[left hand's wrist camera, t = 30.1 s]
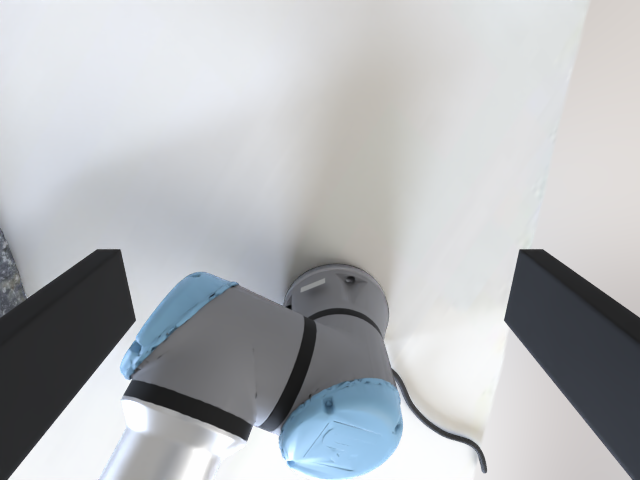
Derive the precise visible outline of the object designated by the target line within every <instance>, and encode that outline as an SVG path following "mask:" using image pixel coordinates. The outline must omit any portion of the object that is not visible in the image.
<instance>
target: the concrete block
mask: <svg viewBox="0 0 640 480" xmlns="http://www.w3.org/2000/svg"><path fill="white" fill-rule="evenodd" d="M25 300H26V297H25V293H24V290H23V287H22V284H21V280H20V276H19V273H18V270H17V268H16V265H15V262H14V260H13V257H12V254H11V251H10V249H9V246H8V243H7V242H6V240H5V238H4V235H3V232H2V230H1V229H0V318H1V317H2V316H3V315H5V314H6V313H8V312H9V311H10V310H12V309H13V308H15V307H16V306H18V305H19V304H20V303H22V302H23V301H25Z"/></svg>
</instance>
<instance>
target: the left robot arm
mask: <svg viewBox="0 0 640 480" xmlns="http://www.w3.org/2000/svg"><path fill="white" fill-rule="evenodd" d="M135 321H136V319H135V314H134V309H133V305H132V300H131V296H130V291H129V286H128V282H127V277H126V273H125V268H124V263H123V259H122V254H121V250H120V249H97V250H96V251H94V252H93V253H91V254H90V255H88V256H87V257H86V258H84V259H83V260H81V261H80V262H79V263H77V264H76V265H74V266H73V267H71V268H70V269H69V270H67V271H66V272H64V273H63V274H62V275H60V276H59V277H57V278H56V279H54V280H53V281H52V282H50V283H49V284H47V285H46V286H45V287H43V288H42V289H40V290H39V291H37V292H36V293H35V294H33V295H32V296H30V297H29V298H28V299H26V300H25V301H23V302H22V303H20V304H19V305H18V306H16V307H15V308H13V309H12V310H10V311H9V312H8V313H6V314H5V315H3V316H2V317H1V318H0V480H8V478H9V477H10V476H11V475H12V474H13V472H14V471H15V470H16V469H17V467H18V466H19V465H20V464H21V462H22V461H23V460H24V459H25V457H26V456H27V455H28V454H29V452H30V451H31V450H32V449H33V447H34V446H35V445H36V444H37V443H38V441H39V440H40V439H41V438H42V436H43V435H44V434H45V433H46V431H47V430H48V429H49V428H50V426H51V425H52V424H53V423H54V421H55V420H56V419H57V418H58V416H59V415H60V414H61V413H62V412H63V410H64V409H65V408H66V407H67V405H68V404H69V403H70V402H71V400H72V399H73V398H74V397H75V395H76V394H77V393H78V392H79V390H80V389H81V388H82V387H83V385H84V384H85V383H86V382H87V381H88V379H89V378H90V377H91V376H92V374H93V373H94V372H95V371H96V369H97V368H98V367H99V366H100V364H101V363H102V362H103V361H104V359H105V358H106V357H107V356H108V354H109V353H110V352H111V351H112V350H113V348H114V347H115V346H116V345H117V343H118V342H119V341H120V340H121V338H122V337H123V336H124V335H125V333H126V332H127V331H128V330H129V328H130V327H131V326H132V325H133V323H134V322H135ZM388 321H389V308H388V304H387V300H386V297H385V294H384V292H383V290H382V288H381V286H380V285H379V284H378V282H377V281H376V280H375V279H374V278H373V277H372V276H370V275H369V274H368V273H366V272H365V271H363V270H361V269H358V268H356V267H353V266H349V265H343V264H329V265H323V266H319V267H316V268H313V269H311V270H309V271H307V272H305V273H304V274H302V275H301V276H300V277H299V278H297V279H296V280H295V282H294V283H293V284H292V285H291V287H290V288H289V290H288V292H287V294H286V297H285V300H284V305H283V306H282V305H279V304H277V303H275V302H273V301H271V300H269V299H267V298H264V297H262V296H260V295H258V294H256V293H254V292H252V291H250V290H248V289H246V288H243V287H241V286H239V284H238V283H236V282H229V281H227V280H224V279H221V278H219V277H216V276H214V275H211V274H209V273H206V272H196V273H193V274H190V275H188V276H187V277H185V278H184V279H183V280H181V281H180V282H179V283H178V284H177V285H176V286H175V287H174V288H173V289H172V290H171V291H170V292H169V294H168V295H167V296H166V297H165V298H164V299H163V301H162V302H161V303H160V304H159V306H158V307H157V308H156V309H155V311H154V312H153V313H152V315H151V316H150V317H149V319H148V320H147V321H146V323H145V324H144V326H143V327H142V328H141V330H140V332H139V333H138V335H137V336H136V340H135V341H134V342H133V344H132V345H131V347H130V348H129V349H128V351H127V352H126V354H125V356H124V358H123V360H122V362H121V365H120V370H121V373H122V374H123V375H124V377H125V379H128V380H130V379H132V381H131V383H130V384H129V386H128V388H127V390H126V392H125V393H124V395H123V397H122V399H121V402H122V406H123V409H124V413H125V417H126V429H125V431H124V433H123V435H122V437H121V439H120V440H119V442H118V444H117V446H116V448H115V450H114V452H113V453H112V455H111V457H110V459H109V461H108V463H107V465H106V466H105V468H104V470H103V472H102V474H101V476H100V478H99V479H98V480H214V479H215V476H216V473H217V471H218V468H219V466H220V463H221V462H222V461H223V460H224V459H225V458H226V457H227V456H229V455H231V454H232V453H234V452H236V451H238V450H239V449H241V448H243V447H244V446H245V445H246V443H247V440H248V437H249V435H250V432H251V429H252V427H253V426H256V427H259V428H261V429H264V430H266V431H269V432H271V433H274V434H276V435H279V446H280V449H281V453H282V456H283V458H284V459H285V460H286V461H287V464H288V466H289V467H290V468H291V469H292V470H293V471H295V472H296V473H298V474H300V475H302V476H304V477H306V478H310V479H313V480H347V479H352V478H354V477H356V476H360V475H364V474H366V473H368V472H370V471H372V470H374V469H376V468H377V467H379V466H380V465H381V464H383V463H384V462H385V461H386V460H387V459H388V458H389V457H390V456H391V455H392V453H393V452H394V451H395V449H396V448H397V446H398V444H399V441H400V439H401V436H402V430H403V421H402V414H401V408H400V397H399V392H398V390H397V387H396V383H395V380H396V382H397V383H398V385H399V387H400V389H401V392H402V394H403V396H404V399H405V401H406V403H407V405H408V406H409V408H410V409H411V411H412V412H413V413H414V414H415V415H416V416H417V418H418V419H419V420H420V421H421V422H423V423H424V424H425V425H426V426H427V427H429V428H430V429H432V430H433V431H435V432H436V433H438V434H439V435H441V436H443V437H446V438H448V439H451V440H455V441H459V442H462V443H465V444H467V445H469V446H471V447H472V448H474V449H475V451H476V452H477V454H478V458H479V461H480V465H481V469H482V472H483V473H486V472H487V466H486V461H485V457H484V455H483V452H482V451H481V449H480V447H479V446H478V445H477V444H476V443H474V442H473V441H471V440H469V439H467V438H464V437H461V436H457V435H453V434H450V433H448V432H445V431H443V430H441V429H440V428H438V427H437V426H435V425H434V424H432V423H431V422H430V421H429V420H427V419H426V418H425V417H424V416H423V415H422V414H421V413H420V412H419V411H418V409H417V408H416V407H415V406H414V404H413V403H412V401H411V399H410V397H409V395H408V392H407V390H406V387H405V385H404V383H403V381H402V380H401V378H400V377H399V375H398V374H397V373H396V372H395V371H394V370H393V369H392V368H391V365H390V362H389V358H388V355H387V351H386V348H385V344H384V341H383V340H384V336H385V332H386V328H387V325H388ZM504 321H505V322H506V323H507V325H508V326H509V327H510V328H511V330H512V331H513V332H514V333H515V335H516V336H517V337H518V338H519V340H520V341H521V342H522V343H523V345H524V346H525V347H526V348H527V350H528V351H529V352H530V353H531V354H532V356H533V357H534V358H535V359H536V361H537V362H538V363H539V364H540V366H541V367H542V368H543V369H544V371H545V372H546V373H547V374H548V376H549V377H550V378H551V379H552V381H553V382H554V383H555V384H556V385H557V387H558V388H559V389H560V390H561V392H562V393H563V394H564V395H565V397H566V398H567V399H568V400H569V402H570V403H571V404H572V405H573V407H574V408H575V409H576V410H577V412H578V413H579V414H580V415H581V416H582V418H583V419H584V420H585V421H586V423H587V424H588V425H589V426H590V428H591V429H592V430H593V431H594V433H595V434H596V435H597V436H598V438H599V439H600V440H601V441H602V442H603V444H604V445H605V446H606V447H607V449H608V450H609V451H610V452H611V454H612V455H613V456H614V457H615V459H616V460H617V461H618V462H619V463H620V465H621V466H622V467H623V468H624V470H625V471H626V472H627V473H628V475H629V476H630V477H631V478H632V480H640V318H639V317H638V316H637V315H635V314H634V313H632V312H631V311H629V310H628V309H627V308H625V307H624V306H622V305H621V304H620V303H618V302H617V301H615V300H614V299H612V298H611V297H610V296H608V295H607V294H605V293H604V292H603V291H601V290H600V289H598V288H597V287H595V286H594V285H593V284H591V283H590V282H588V281H587V280H586V279H584V278H583V277H581V276H580V275H578V274H577V273H576V272H574V271H573V270H571V269H570V268H569V267H567V266H566V265H564V264H563V263H561V262H560V261H559V260H557V259H556V258H554V257H553V256H551V255H550V254H549V253H547V252H546V251H544V250H543V249H520V250H519V254H518V259H517V263H516V268H515V273H514V277H513V282H512V286H511V291H510V296H509V300H508V305H507V309H506V314H505V319H504Z"/></svg>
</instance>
